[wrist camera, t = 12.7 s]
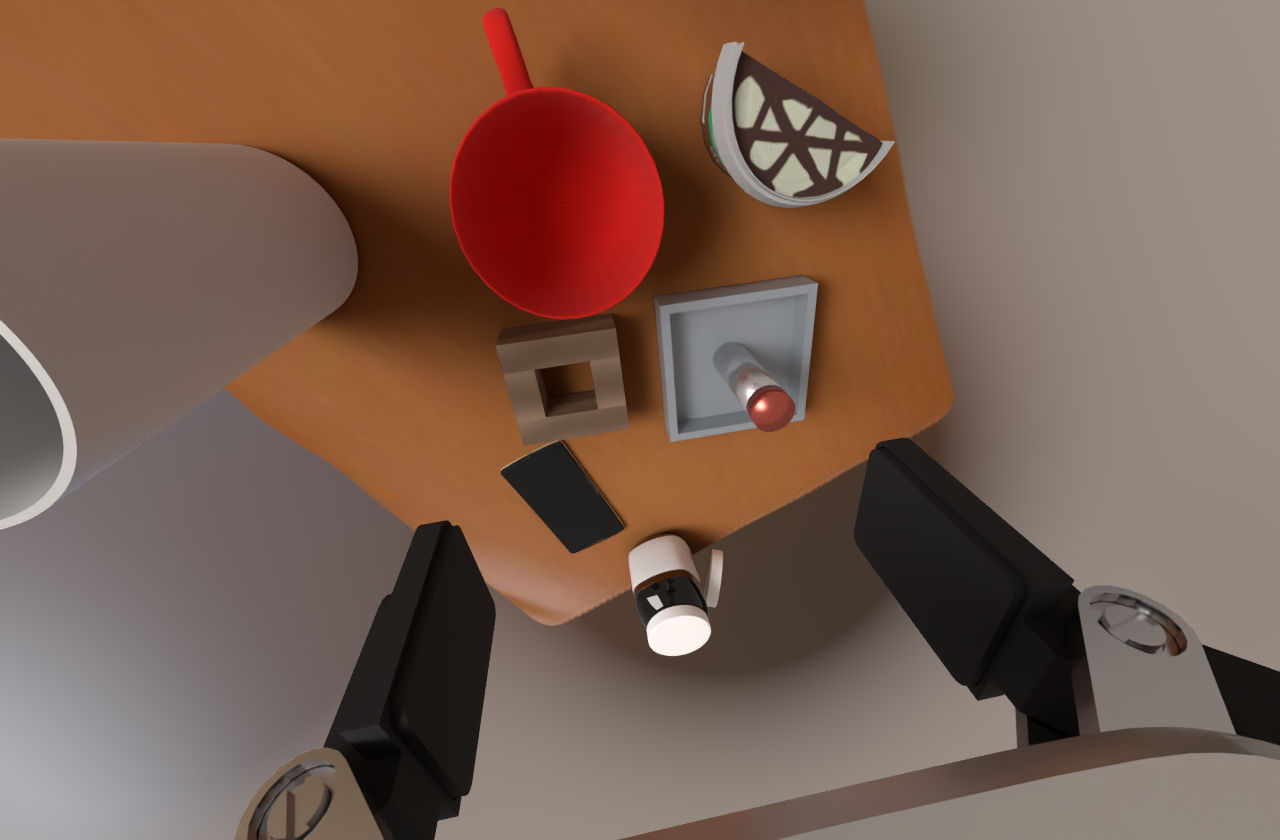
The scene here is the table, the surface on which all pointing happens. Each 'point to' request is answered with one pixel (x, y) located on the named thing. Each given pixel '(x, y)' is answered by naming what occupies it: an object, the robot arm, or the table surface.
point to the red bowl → (554, 194)
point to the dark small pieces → (563, 496)
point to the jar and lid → (673, 593)
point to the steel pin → (754, 387)
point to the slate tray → (744, 313)
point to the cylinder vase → (144, 293)
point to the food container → (781, 136)
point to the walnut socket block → (556, 347)
